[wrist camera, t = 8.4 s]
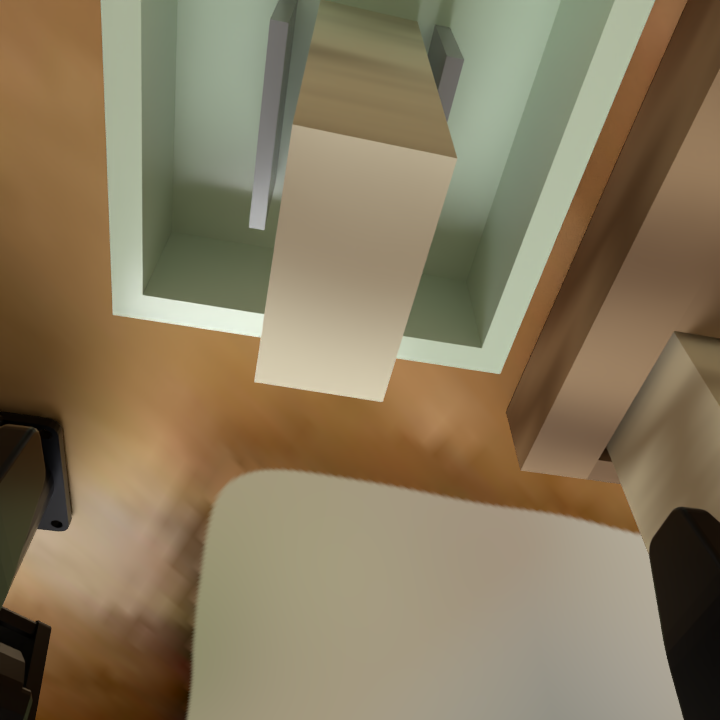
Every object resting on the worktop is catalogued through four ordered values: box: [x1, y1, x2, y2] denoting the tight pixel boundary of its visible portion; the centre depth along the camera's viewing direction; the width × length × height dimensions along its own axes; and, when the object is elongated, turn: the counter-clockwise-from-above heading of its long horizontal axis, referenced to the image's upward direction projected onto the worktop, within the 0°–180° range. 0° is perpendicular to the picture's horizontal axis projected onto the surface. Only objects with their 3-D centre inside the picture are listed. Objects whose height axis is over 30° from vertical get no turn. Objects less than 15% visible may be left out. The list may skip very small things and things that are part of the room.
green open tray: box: [101, 0, 655, 374], centre depth 17 cm, size 11×11×4 cm
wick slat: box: [606, 331, 720, 554], centre depth 21 cm, size 5×2×9 cm, turn 169°
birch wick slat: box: [254, 0, 457, 402], centre depth 15 cm, size 5×2×9 cm, turn 168°
